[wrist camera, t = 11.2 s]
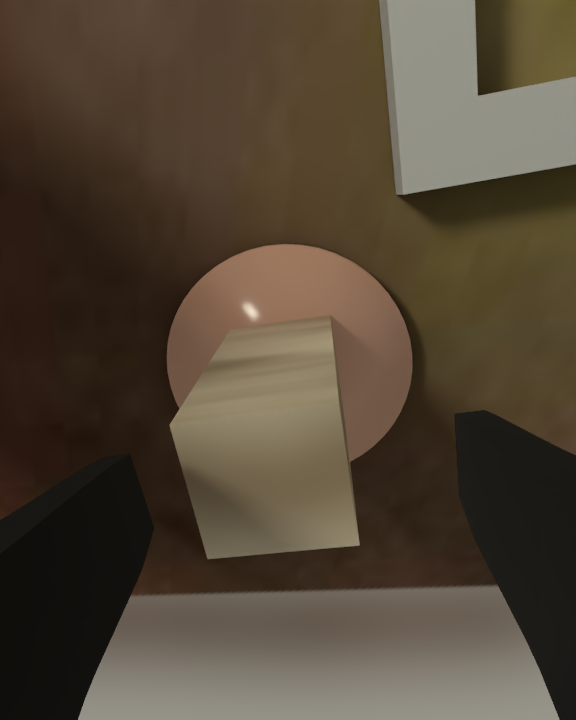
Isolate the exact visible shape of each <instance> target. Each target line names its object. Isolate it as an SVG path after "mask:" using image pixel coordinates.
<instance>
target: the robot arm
mask: <svg viewBox="0 0 576 720" xmlns="http://www.w3.org/2000/svg"><path fill="white" fill-rule="evenodd" d="M454 415H455V432H456V448H457V465H458V482H459V496H460V499H461V502H462V505H463V508H464V511H465V514H466V516H467V519H468V522H469V525H470V527H471V530H472V533H473V536H474V538H475V540H476V542H477V544H478V546H479V549H480V551H481V553H482V555H483V556H484V558H485V560H486V562H487V564H488V566H489V568H490V570H491V572H492V574H493V576H494V578H495V580H496V582H497V584H498V586H499V588H500V590H501V592H502V594H503V596H504V598H505V600H506V602H507V604H508V606H509V607H510V610H511V612H512V614H513V615H514V618H515V619H516V621H517V623H518V625H519V627H520V629H521V631H522V633H523V635H524V637H525V639H526V641H527V643H528V645H529V647H530V650H531V652H532V654H533V656H534V658H535V660H536V663H537V665H538V667H539V669H540V671H541V674H542V676H543V679H544V681H545V684H546V686H547V689H548V691H549V694H550V696H551V699H552V701H553V704H554V706H555V709H556V711H557V714H558V716H559V719H560V720H576V455H573V454H571V453H569V452H567V451H565V450H563V449H561V448H559V447H557V446H555V445H553V444H551V443H549V442H547V441H545V440H543V439H541V438H539V437H537V436H535V435H533V434H531V433H529V432H528V431H526V430H524V429H522V428H520V427H518V426H516V425H514V424H512V423H510V422H508V421H506V420H505V419H503V418H501V417H499V416H497V415H495V414H492V413H490V412H488V411H485V410H482V411H474V412H466V413H458V414H454ZM153 530H154V526H153V523H152V520H151V517H150V514H149V511H148V508H147V505H146V502H145V498H144V495H143V492H142V489H141V486H140V483H139V480H138V477H137V474H136V471H135V468H134V465H133V462H132V459H131V456H130V454H127V455H119V456H111V457H105V458H102V459H100V460H98V461H96V462H94V463H92V464H90V465H89V466H87V467H85V468H83V469H82V470H80V471H78V472H77V473H75V474H73V475H72V476H70V477H68V478H67V479H65V480H64V481H62V482H60V483H59V484H57V485H56V486H54V487H53V488H51V489H49V490H48V491H46V492H45V493H43V494H42V495H40V496H38V497H37V498H35V499H34V500H32V501H31V502H29V503H27V504H26V505H24V506H23V507H21V508H20V509H18V510H16V511H15V512H13V513H11V514H10V515H8V516H6V517H5V518H3V519H1V520H0V720H78V717H79V715H80V711H81V709H82V706H83V703H84V700H85V697H86V695H87V692H88V690H89V687H90V685H91V683H92V680H93V677H94V675H95V673H96V670H97V668H98V666H99V664H100V662H101V659H102V657H103V655H104V653H105V651H106V648H107V646H108V644H109V642H110V640H111V637H112V635H113V633H114V631H115V628H116V626H117V624H118V622H119V620H120V618H121V615H122V613H123V611H124V609H125V607H126V604H127V602H128V600H129V598H130V595H131V593H132V591H133V589H134V586H135V584H136V582H137V580H138V577H139V575H140V573H141V570H142V567H143V564H144V561H145V558H146V555H147V551H148V548H149V544H150V541H151V537H152V533H153Z"/></svg>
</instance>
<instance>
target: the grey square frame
mask: <svg viewBox="0 0 576 720" xmlns="http://www.w3.org/2000/svg"><path fill="white" fill-rule="evenodd" d="M379 5H380V16H381V28H382V39H383V51H384V62H385V74H386V85H387V97H388V108H389V120H390V131H391V143H392V154H393V166H394V177H395V189H396V195H404V194H410V193H416V192H421V191H427V190H433V189H438V188H444V187H450V186H455V185H461V184H467V183H472V182H478V181H484V180H489V179H495V178H501V177H506V176H512V175H518V174H523V173H529V172H535V171H540V170H546V169H552V168H557V167H563V166H569V165H574V164H576V77H571V78H566V79H561V80H556V81H551V82H546V83H541V84H536V85H531V86H526V87H521V88H516V89H510V90H505V91H500V92H495V93H490V94H485V95H480V96H478V85H477V51H476V17H475V0H379Z"/></svg>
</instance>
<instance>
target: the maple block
mask: <svg viewBox="0 0 576 720" xmlns="http://www.w3.org/2000/svg"><path fill="white" fill-rule="evenodd" d="M169 426H170V429H171V433H172V436H173V440H174V443H175V447H176V450H177V454H178V457H179V461H180V464H181V468H182V471H183V475H184V478H185V482H186V485H187V489H188V492H189V496H190V499H191V503H192V506H193V510H194V513H195V517H196V520H197V524H198V527H199V531H200V534H201V538H202V541H203V545H204V548H205V552H206V555H207V559H216V558H227V557H238V556H249V555H260V554H271V553H282V552H293V551H303V550H314V549H325V548H336V547H347V546H358V545H360V544H359V535H358V527H357V518H356V510H355V502H354V493H353V485H352V476H351V468H350V460H349V451H348V443H347V434H346V426H345V417H344V409H343V402H342V395H341V388H340V381H339V374H338V367H337V360H336V353H335V346H334V339H333V332H332V325H331V318H330V315H325V316H318V317H312V318H305V319H298V320H292V321H285V322H278V323H271V324H265V325H258V326H251V327H245V328H238V329H231V330H230V331H229V332H228V334H227V335H226V337H225V338H224V340H223V342H222V343H221V345H220V346H219V348H218V349H217V351H216V353H215V354H214V356H213V357H212V359H211V360H210V362H209V364H208V365H207V367H206V368H205V370H204V371H203V373H202V375H201V376H200V378H199V379H198V381H197V382H196V384H195V386H194V387H193V389H192V390H191V392H190V394H189V395H188V397H187V398H186V400H185V401H184V403H183V405H182V406H181V408H180V409H179V411H178V412H177V414H176V416H175V417H174V419H173V420H172V422H171V423H170V425H169Z"/></svg>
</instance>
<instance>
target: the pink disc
mask: <svg viewBox="0 0 576 720" xmlns="http://www.w3.org/2000/svg"><path fill="white" fill-rule="evenodd" d="M325 315H330V318H331V325H332V332H333V339H334V346H335V353H336V360H337V367H338V374H339V381H340V388H341V395H342V402H343V409H344V417H345V426H346V434H347V443H348V451H349V460H350V462H351V461H352V460H354V459H356V458H358V457H359V456H361V455H363V454H364V453H365V452H367V451H368V450H369V449H371V448H372V447H373V446H374V445H375V444H376V443H377V442H378V441H380V440H381V439H382V438H383V437H384V436H385V434H386V433H387V432H388V431H389V429H390V428H391V427H392V426H393V424H394V422H395V421H396V419H397V417H398V416H399V414H400V412H401V410H402V408H403V406H404V403H405V401H406V399H407V395H408V391H409V388H410V384H411V377H412V349H411V342H410V337H409V334H408V331H407V327H406V324H405V322H404V319H403V317H402V315H401V313H400V311H399V309H398V307H397V306H396V304H395V303H394V301H393V300H392V298H391V297H390V295H389V294H388V292H387V291H386V290H385V289H384V287H383V286H382V285H381V284H380V283H379V282H378V281H377V280H376V279H375V278H374V277H373V276H372V275H371V274H370V273H368V272H367V271H366V270H365V269H364V268H362V267H361V266H359V265H358V264H356V263H355V262H353V261H352V260H350V259H348V258H346V257H344V256H342V255H340V254H337V253H335V252H333V251H330V250H326V249H323V248H320V247H316V246H310V245H304V244H289V243H282V244H272V245H265V246H261V247H257V248H252V249H249V250H247V251H244V252H241V253H239V254H236V255H234V256H232V257H231V258H229V259H227V260H225V261H223V262H222V263H220V264H219V265H217V266H216V267H215V268H213V269H212V270H211V271H209V272H208V273H207V274H206V275H204V276H203V277H202V278H201V279H200V280H199V281H198V282H197V283H196V284H195V285H194V286H193V288H192V289H191V290H190V292H189V293H188V294H187V296H186V297H185V298H184V300H183V302H182V303H181V305H180V307H179V309H178V311H177V313H176V315H175V318H174V321H173V323H172V326H171V329H170V334H169V339H168V345H167V371H168V377H169V382H170V386H171V389H172V392H173V395H174V398H175V401H176V403H177V405H178V407H179V409H180V408H181V406H182V405H183V403H184V401H185V400H186V398H187V397H188V395H189V394H190V392H191V390H192V389H193V387H194V386H195V384H196V382H197V381H198V379H199V378H200V376H201V375H202V373H203V371H204V370H205V368H206V367H207V365H208V364H209V362H210V360H211V359H212V357H213V356H214V354H215V353H216V351H217V349H218V348H219V346H220V345H221V343H222V342H223V340H224V338H225V337H226V335H227V334H228V332H229V331H230V330H231V329H238V328H245V327H251V326H258V325H265V324H271V323H278V322H285V321H292V320H298V319H305V318H312V317H318V316H325Z"/></svg>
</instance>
